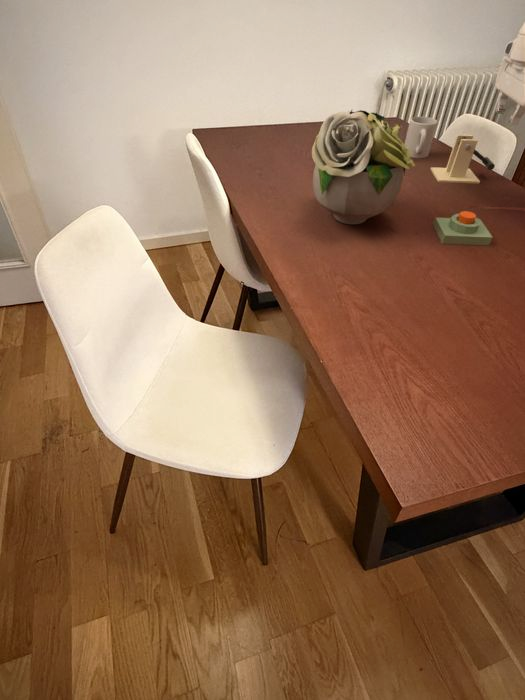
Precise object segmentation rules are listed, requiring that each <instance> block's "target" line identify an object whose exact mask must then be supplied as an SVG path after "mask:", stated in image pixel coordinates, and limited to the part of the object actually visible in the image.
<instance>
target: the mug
mask: <svg viewBox="0 0 525 700" xmlns="http://www.w3.org/2000/svg"><path fill="white" fill-rule="evenodd" d="M437 126H438V120H437V119H435V118H433V117H429V116H413V117H411V118H410V120H409V123H408V128H407V131H406V135H405V140H404V144H405V147H406V148H407V150H409V151H410V152H411V153H412V155H411V157H410V158H414V159H423V158H424V159H425V158H428V156H429V154H430V150H431V147H432V143H433V139H434V136H435V134H436V133H435V132H436V130H437Z"/></svg>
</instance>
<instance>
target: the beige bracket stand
mask: <svg viewBox="0 0 525 700" xmlns="http://www.w3.org/2000/svg"><path fill="white" fill-rule="evenodd" d="M463 137H466V138H467V139H462V138H463ZM459 142H460V144H459V145H458V143H459ZM478 142H479V140H478V139H476V138H475V139H474V134H456V137H455V140H454V143H453V145H452V149H451V152H450V155H449V159H448V161H447V164H446V167H437V166H436V167H434V166H433V167H430V171H431V173H432V174H433V176H434V178H435V179H436V181H437V182H438V183H451V184H478V185H479V184H480V183H481V181H480V179H479V178H478V176H476V174H475V173H474V172H473V171H472V170H471V168H469V167H470V164H471V161H472V158H473V156H474V154H473V153H474V150H476V147H477V144H478Z"/></svg>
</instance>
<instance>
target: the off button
mask: <svg viewBox="0 0 525 700" xmlns="http://www.w3.org/2000/svg"><path fill="white" fill-rule="evenodd" d="M458 214H459V217H458V221H459V222H461V223H463V224H473V223H474V220H475V218H477V215H476V213H474V212H472V211H467V210H463V211H460V212H459V213H458Z"/></svg>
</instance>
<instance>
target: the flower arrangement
mask: <svg viewBox="0 0 525 700" xmlns="http://www.w3.org/2000/svg"><path fill="white" fill-rule="evenodd" d="M384 120H385V116H383V115H381V114H378V112H368V111H366V110H357V111H353V109H350V110H344V111H341V112H337V113H334V114H331V115H330V116H328V117H326V118H325V119H324V121H323V122H322V123H321V126H320V129H319V132H318V134H317V135H316V136H315V140H314V142H313V145H312V148H311V157H312V160H313V162H314V164H315V166H314V170H313V175H312V190H313V194H314V197H315V199H316V200H317V202H318V203H319V205H321V206H322V208H324V210H326V211H327V212H329V213H331V214H332V215H333V217H334V219H335V220H336V221H338V222H339V223H342V224H345V225H360V224H363V223H364V222H366V221H367V220H368V219H370V218H373V217H375V216H377V215H380V214H381V213H383V212H386V211H387V210H388V209H389V208H390V207H391V206H392V205H393V204H394V202H395V201H396V199H397V198H398V196H399V194H400V192H401V188H402V184H403V180H404V175H406V170H410V165H411V166H412V167H413V168H414V167H416V164H415V162H414V160H413V159H412V157H411V155H412V153H411V152H410V151H409V150H407V148H406V147H405V142H403V141H402V140H401V138H400V137H399V135H398V134H399V130H400V129H401V126H399V124H398V123H395V124H394V125H393V127H391V126H390V125H389V123H388V122H387V121H386V120H385V121H384Z"/></svg>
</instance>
